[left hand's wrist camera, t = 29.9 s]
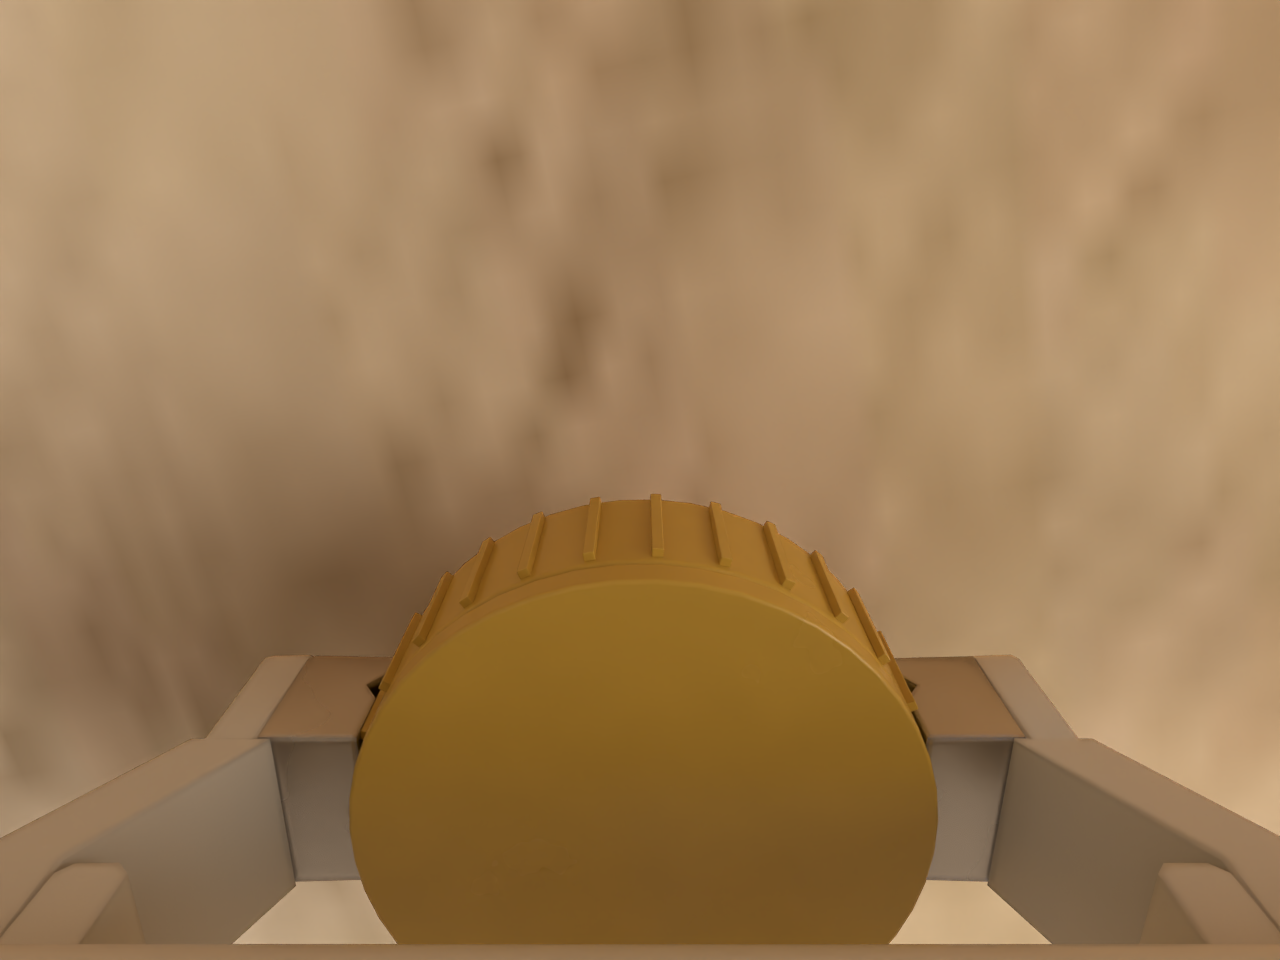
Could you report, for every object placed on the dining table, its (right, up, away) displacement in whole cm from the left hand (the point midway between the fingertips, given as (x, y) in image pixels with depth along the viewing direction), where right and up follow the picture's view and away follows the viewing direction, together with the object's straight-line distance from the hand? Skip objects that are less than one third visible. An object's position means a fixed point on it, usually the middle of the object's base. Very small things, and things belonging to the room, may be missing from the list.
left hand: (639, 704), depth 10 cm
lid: (0, -1, -2) cm, 2 cm away
